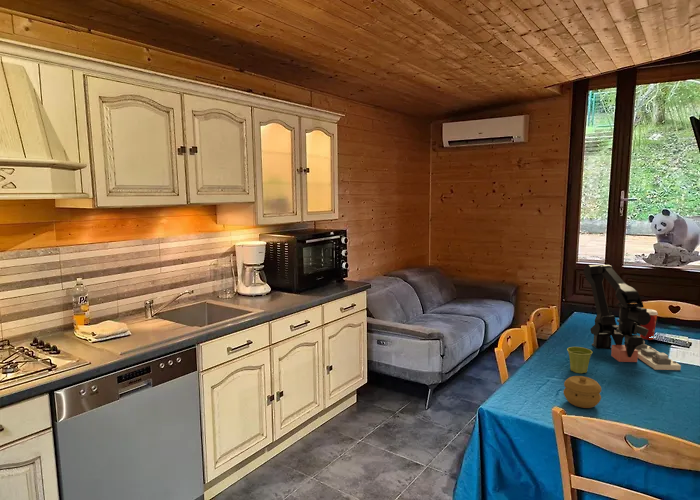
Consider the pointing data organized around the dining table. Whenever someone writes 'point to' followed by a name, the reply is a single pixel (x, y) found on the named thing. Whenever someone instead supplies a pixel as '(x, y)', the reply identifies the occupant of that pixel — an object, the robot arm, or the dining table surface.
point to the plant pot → (579, 359)
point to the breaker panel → (656, 359)
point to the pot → (582, 391)
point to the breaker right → (661, 356)
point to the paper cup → (650, 325)
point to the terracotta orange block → (623, 354)
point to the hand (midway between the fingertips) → (624, 353)
